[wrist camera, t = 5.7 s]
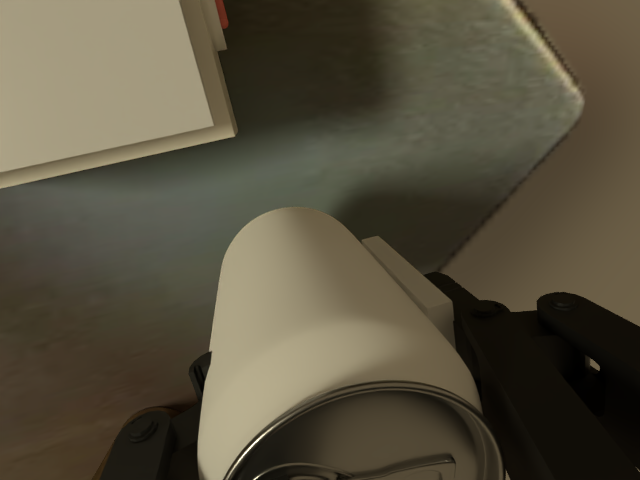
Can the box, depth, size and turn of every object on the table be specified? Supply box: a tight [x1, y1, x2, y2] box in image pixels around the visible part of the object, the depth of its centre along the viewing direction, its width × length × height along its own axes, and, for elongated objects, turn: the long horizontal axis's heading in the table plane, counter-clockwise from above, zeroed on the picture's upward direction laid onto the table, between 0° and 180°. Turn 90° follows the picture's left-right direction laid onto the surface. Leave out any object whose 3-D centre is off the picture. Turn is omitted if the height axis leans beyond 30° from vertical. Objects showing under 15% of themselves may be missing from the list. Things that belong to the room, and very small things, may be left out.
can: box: [198, 207, 506, 480], centre depth 13 cm, size 6×6×12 cm
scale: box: [0, 0, 238, 188], centre depth 15 cm, size 12×13×9 cm
